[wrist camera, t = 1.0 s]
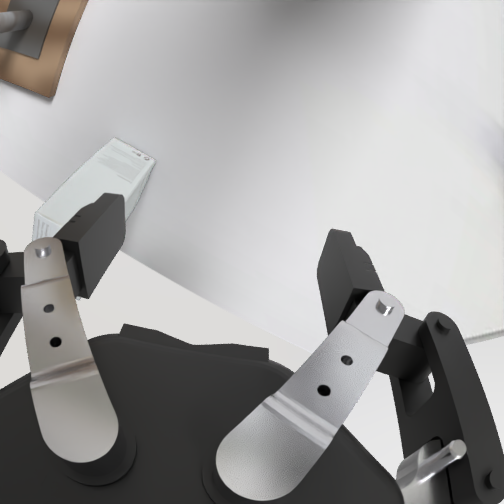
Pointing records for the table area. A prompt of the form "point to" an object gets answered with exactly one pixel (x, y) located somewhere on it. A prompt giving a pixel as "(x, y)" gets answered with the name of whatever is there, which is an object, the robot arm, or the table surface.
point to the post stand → (37, 41)
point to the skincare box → (96, 186)
